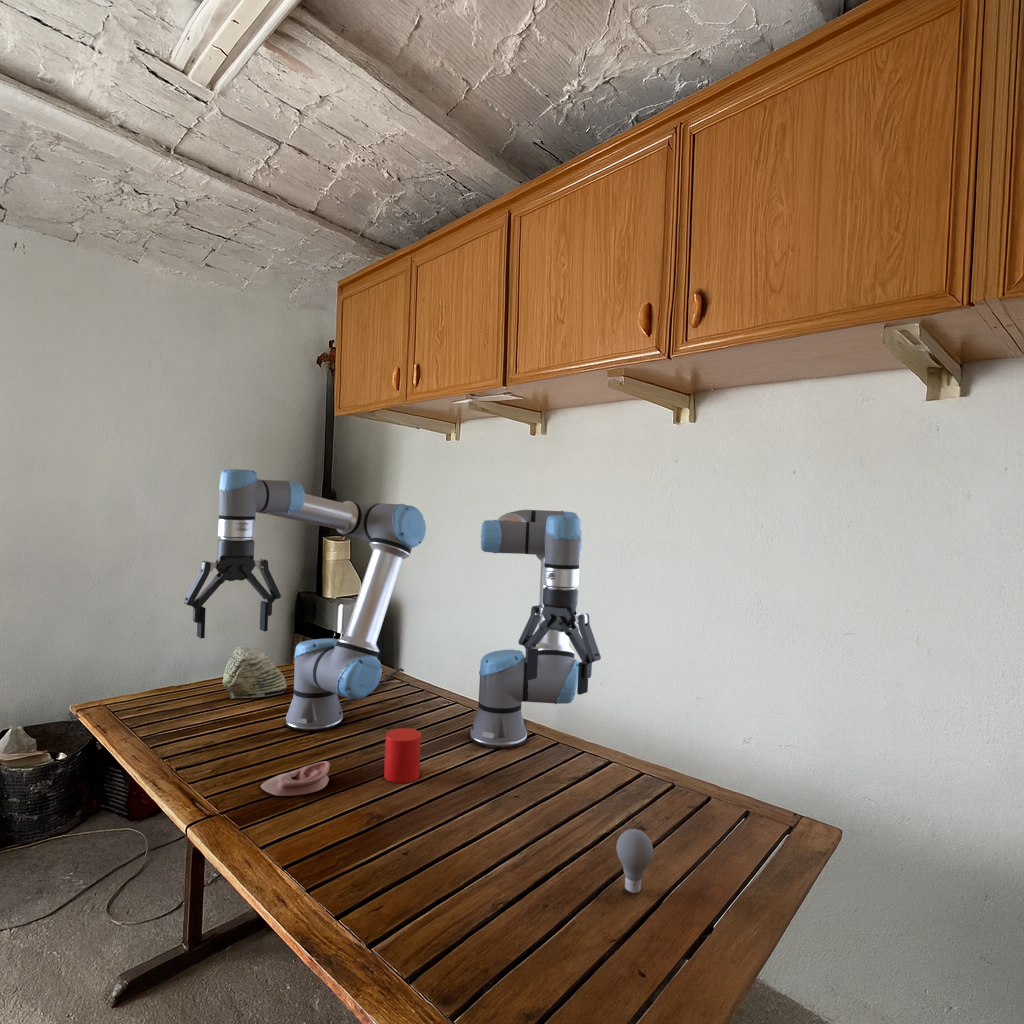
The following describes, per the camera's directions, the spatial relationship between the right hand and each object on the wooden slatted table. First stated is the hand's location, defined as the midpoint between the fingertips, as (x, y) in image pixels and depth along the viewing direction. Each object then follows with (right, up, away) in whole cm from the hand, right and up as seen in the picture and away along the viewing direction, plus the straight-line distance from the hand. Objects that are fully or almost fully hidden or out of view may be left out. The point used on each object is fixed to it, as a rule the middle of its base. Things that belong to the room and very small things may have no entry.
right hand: (556, 685), depth 136 cm
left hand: (-72, +10, +5) cm, 73 cm away
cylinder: (-35, -23, +10) cm, 43 cm away
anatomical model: (-57, -22, +2) cm, 61 cm away
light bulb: (+11, -26, -30) cm, 41 cm away
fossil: (-90, -20, +62) cm, 111 cm away
